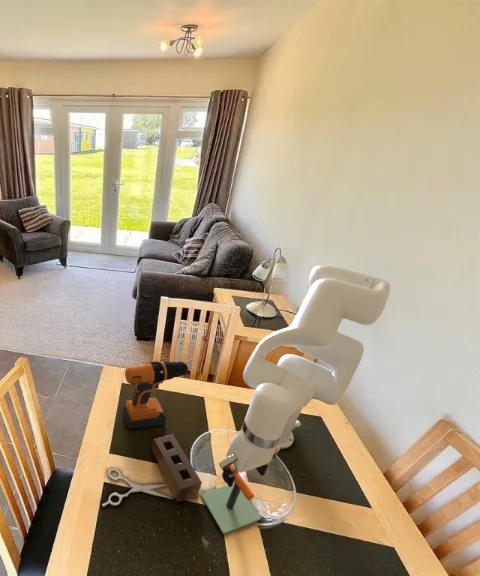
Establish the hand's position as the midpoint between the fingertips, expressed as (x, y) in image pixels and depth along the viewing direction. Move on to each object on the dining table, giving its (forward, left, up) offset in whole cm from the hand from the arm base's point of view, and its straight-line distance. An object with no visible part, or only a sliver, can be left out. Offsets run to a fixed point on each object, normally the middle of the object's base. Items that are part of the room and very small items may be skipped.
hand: (242, 475), depth 80 cm
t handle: (+1, 0, -13) cm, 13 cm away
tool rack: (+11, -13, -13) cm, 21 cm away
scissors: (+23, -11, -14) cm, 29 cm away
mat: (+1, 0, -13) cm, 13 cm away
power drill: (+9, -33, -14) cm, 36 cm away
